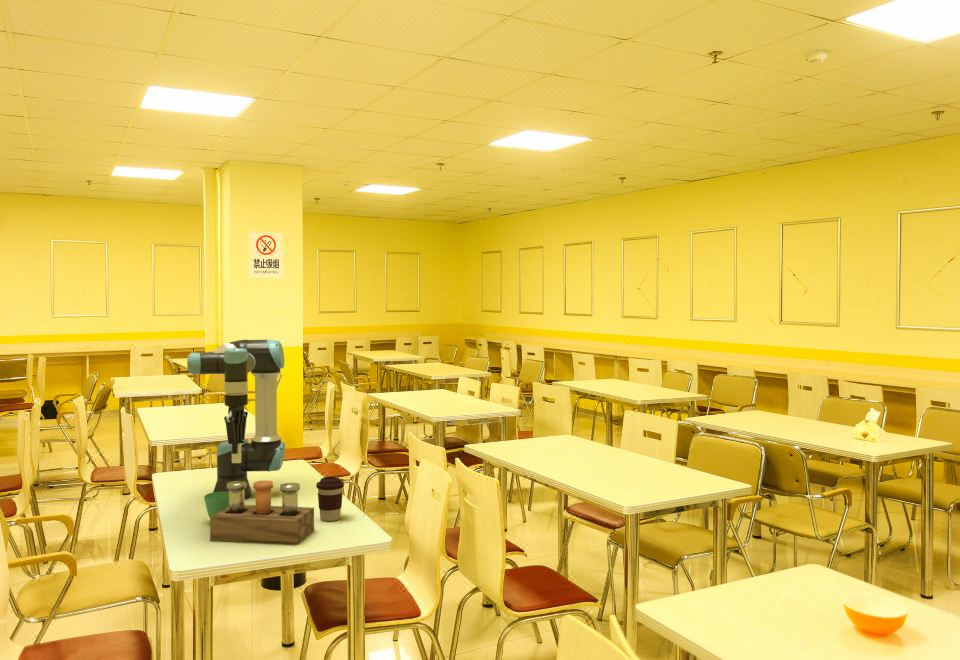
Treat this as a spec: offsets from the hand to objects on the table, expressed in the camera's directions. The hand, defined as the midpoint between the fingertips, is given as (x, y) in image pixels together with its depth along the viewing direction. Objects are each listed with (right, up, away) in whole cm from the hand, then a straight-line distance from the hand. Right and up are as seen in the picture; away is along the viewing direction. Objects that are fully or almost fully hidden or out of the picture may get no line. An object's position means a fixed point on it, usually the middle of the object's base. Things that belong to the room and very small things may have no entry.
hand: (236, 462), depth 246 cm
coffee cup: (+28, -25, +19) cm, 42 cm away
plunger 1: (0, -18, +1) cm, 18 cm away
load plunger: (+9, -17, -1) cm, 20 cm away
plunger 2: (+19, -18, -2) cm, 26 cm away
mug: (-10, -25, +16) cm, 31 cm away
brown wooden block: (+9, -25, 0) cm, 26 cm away
